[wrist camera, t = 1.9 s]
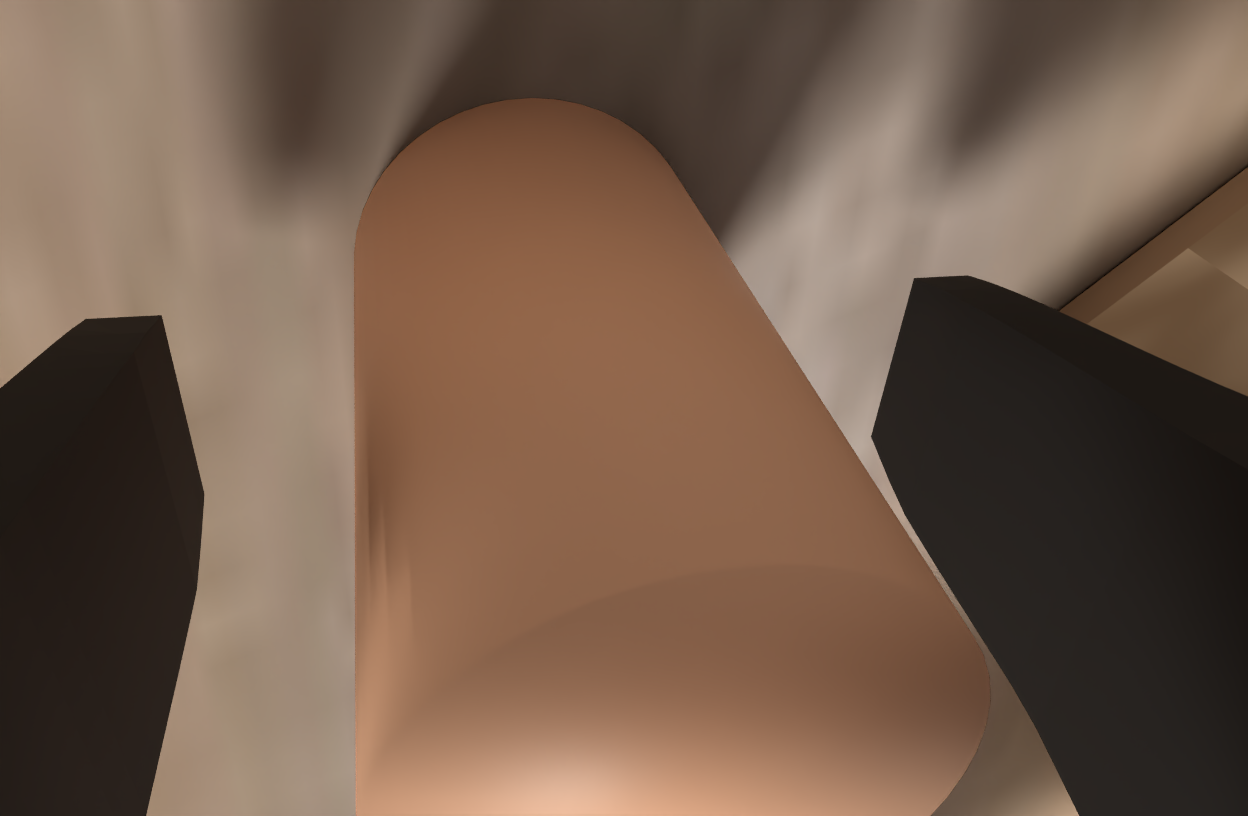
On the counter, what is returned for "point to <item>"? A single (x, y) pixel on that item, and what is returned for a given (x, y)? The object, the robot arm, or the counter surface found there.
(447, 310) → the terracotta peg
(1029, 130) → the counter surface
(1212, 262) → the oak socket block
